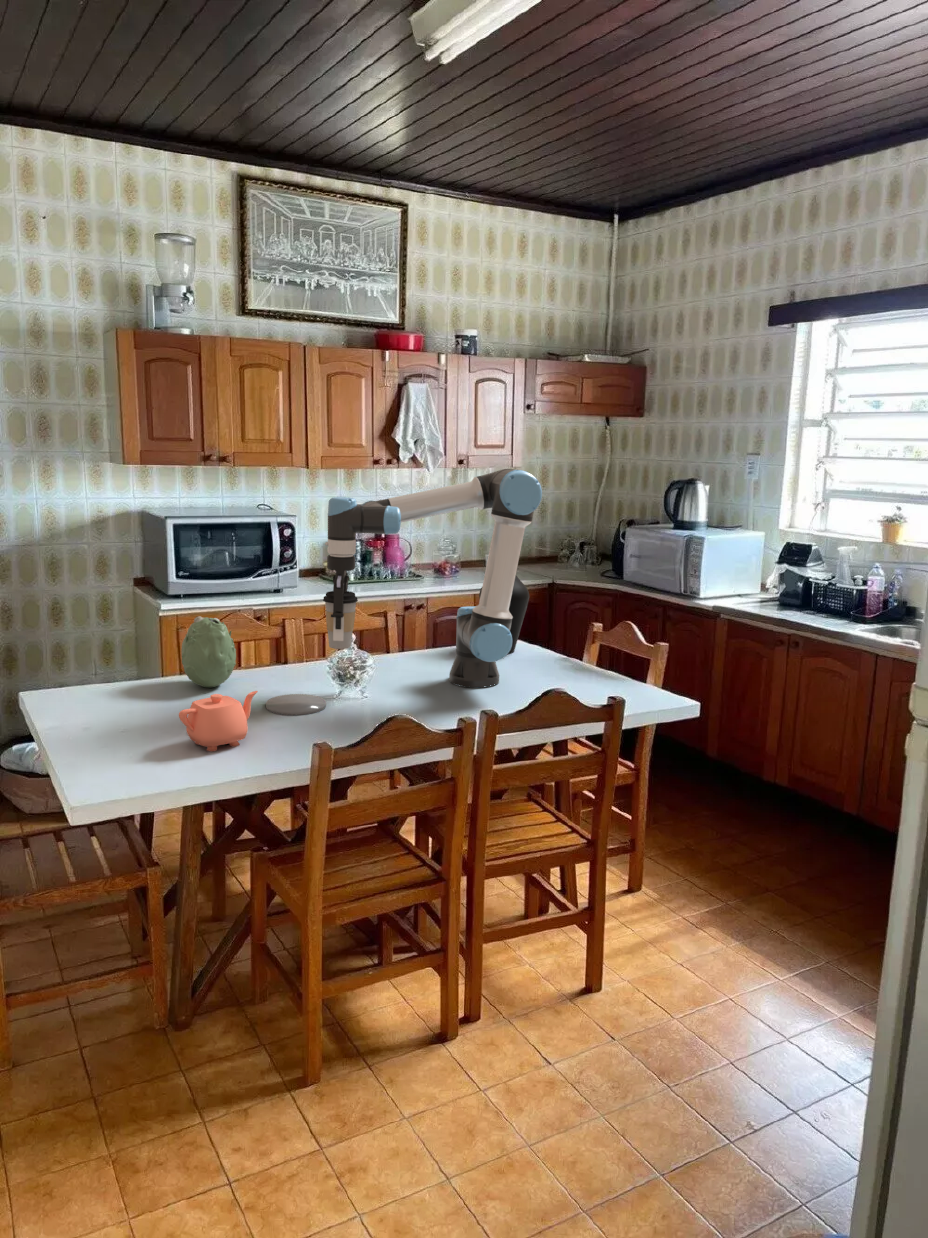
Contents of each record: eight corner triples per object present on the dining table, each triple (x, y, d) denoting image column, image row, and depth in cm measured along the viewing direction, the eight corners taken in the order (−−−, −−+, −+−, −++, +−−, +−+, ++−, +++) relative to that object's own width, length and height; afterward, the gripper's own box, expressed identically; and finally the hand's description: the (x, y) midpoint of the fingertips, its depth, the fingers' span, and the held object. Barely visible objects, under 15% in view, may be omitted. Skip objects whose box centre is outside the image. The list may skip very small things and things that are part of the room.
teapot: (192, 759, 207) (190, 708, 205) (169, 744, 216) (167, 695, 213) (270, 741, 220) (269, 693, 218) (246, 728, 229) (245, 682, 226)
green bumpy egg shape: (192, 698, 252) (190, 627, 248) (173, 681, 268) (170, 614, 264) (247, 690, 261) (246, 622, 257) (225, 675, 276) (224, 609, 272)
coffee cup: (360, 644, 257) (361, 591, 254) (352, 651, 248) (353, 597, 245) (327, 641, 258) (327, 589, 255) (318, 649, 249) (319, 595, 246)
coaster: (328, 698, 256) (328, 694, 256) (322, 715, 241) (322, 712, 241) (270, 697, 256) (270, 693, 255) (261, 714, 240) (261, 711, 240)
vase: (505, 659, 305) (509, 555, 298) (466, 650, 316) (470, 549, 309) (536, 651, 318) (541, 551, 311) (498, 643, 329) (502, 546, 322)
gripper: (331, 549, 258) (329, 628, 262) (323, 559, 237) (321, 645, 242) (358, 550, 258) (356, 629, 263) (352, 560, 238) (350, 646, 242)
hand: (339, 636), depth 252 cm, fingers closed on coffee cup, 8 cm apart
